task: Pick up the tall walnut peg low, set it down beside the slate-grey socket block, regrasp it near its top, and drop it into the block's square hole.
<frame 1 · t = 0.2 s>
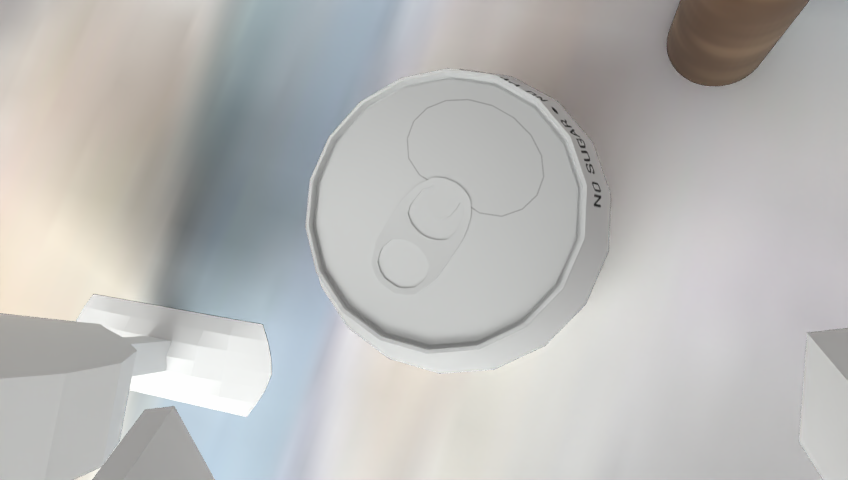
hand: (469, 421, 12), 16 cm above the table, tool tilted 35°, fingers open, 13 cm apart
heart sculpture: (168, 352, 32), on the table
supplement can: (505, 260, 28), on the table
walnut peg: (716, 41, 27), on the table
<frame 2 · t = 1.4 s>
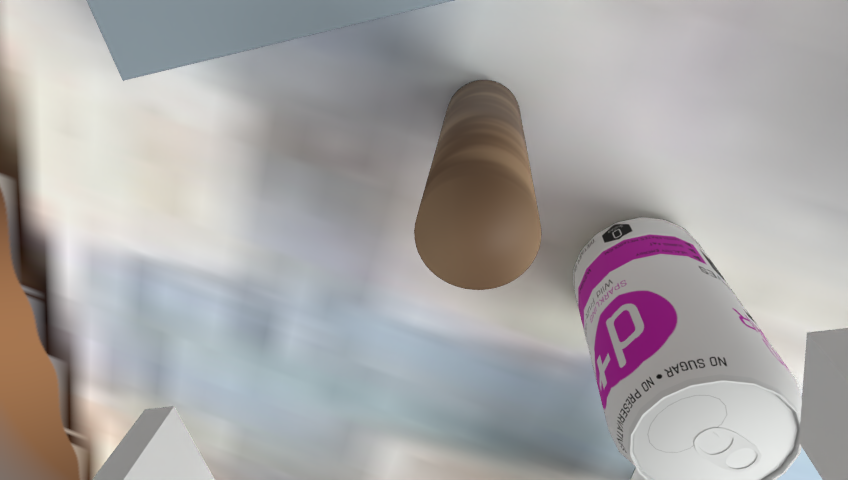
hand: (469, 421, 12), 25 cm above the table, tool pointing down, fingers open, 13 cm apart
supplement can: (634, 267, 37), on the table
walnut peg: (482, 117, 34), on the table
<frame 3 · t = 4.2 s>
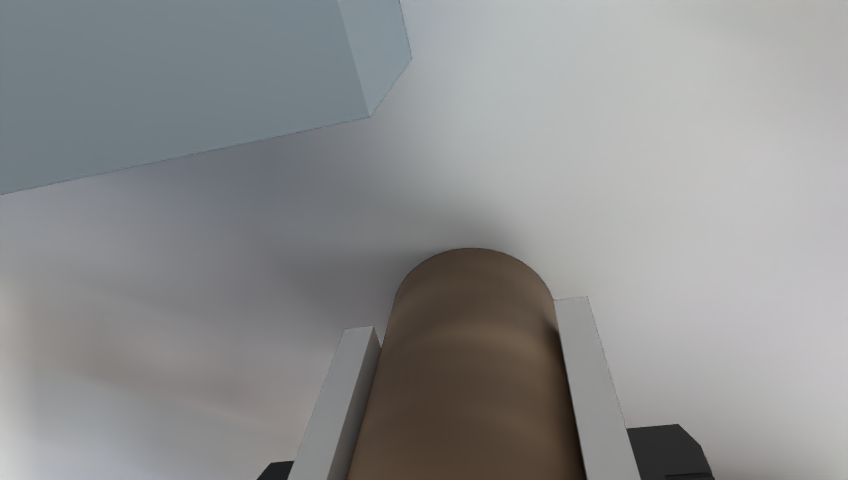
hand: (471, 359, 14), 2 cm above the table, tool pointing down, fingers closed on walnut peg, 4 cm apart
walnut peg: (473, 320, 15), on the table, touching gripper
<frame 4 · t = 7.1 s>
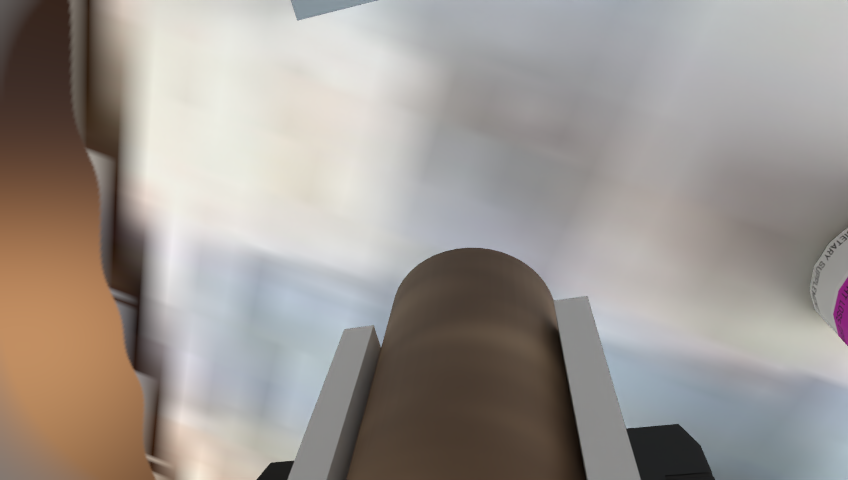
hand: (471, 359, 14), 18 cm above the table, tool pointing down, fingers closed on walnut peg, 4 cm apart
walnut peg: (473, 319, 15), point 16 cm above the table, touching gripper
when the fingers open (3 cm above the table, at t = 9.9 s): walnut peg stays where it is, on the table.
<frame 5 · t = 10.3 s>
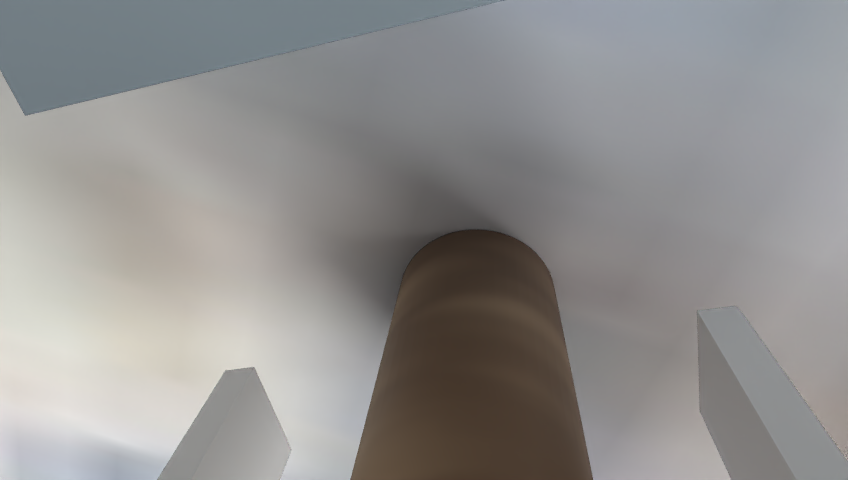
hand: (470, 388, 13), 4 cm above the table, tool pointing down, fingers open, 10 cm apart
walnut peg: (476, 298, 16), on the table
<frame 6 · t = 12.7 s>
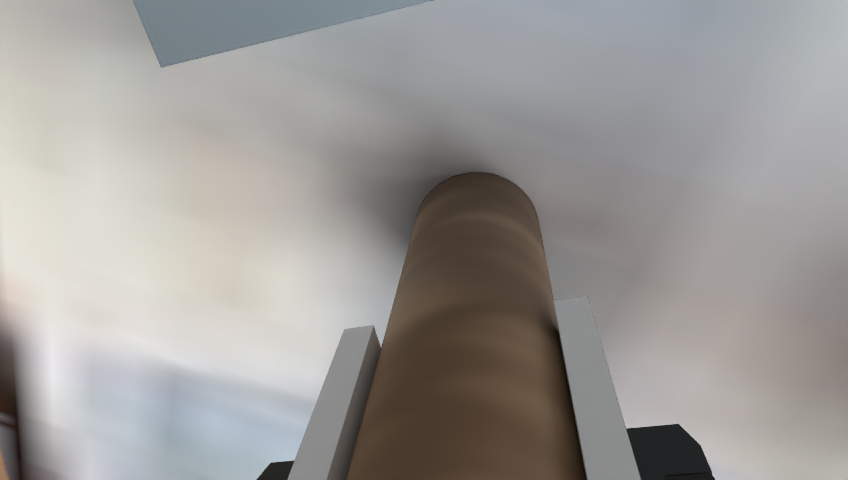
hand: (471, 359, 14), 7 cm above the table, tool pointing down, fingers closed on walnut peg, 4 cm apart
walnut peg: (476, 230, 20), on the table, touching gripper
when the fingers open (9 cm above the table, at t = 19.2 s): walnut peg drops 1 cm, resting in socket block.
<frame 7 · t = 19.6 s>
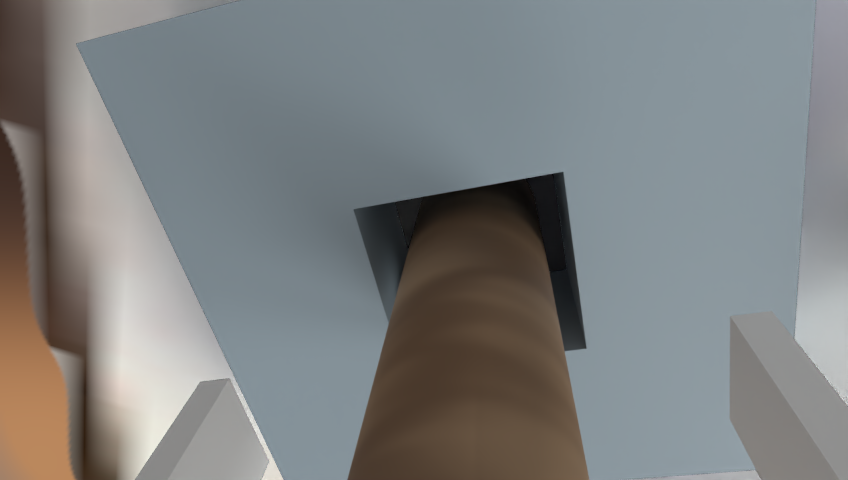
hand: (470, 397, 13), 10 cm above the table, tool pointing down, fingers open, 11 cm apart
socket block: (477, 213, 21), on the table
walnut peg: (477, 213, 21), resting in socket block
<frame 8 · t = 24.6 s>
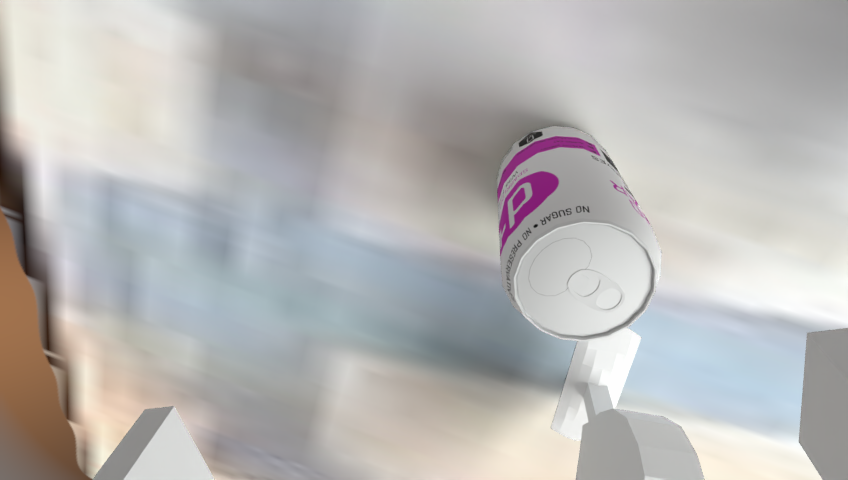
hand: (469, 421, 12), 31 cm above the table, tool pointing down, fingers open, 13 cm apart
heart sculpture: (593, 383, 50), on the table
supplement can: (552, 177, 42), on the table
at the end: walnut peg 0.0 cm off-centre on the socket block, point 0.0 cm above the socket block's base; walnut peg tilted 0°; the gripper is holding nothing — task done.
